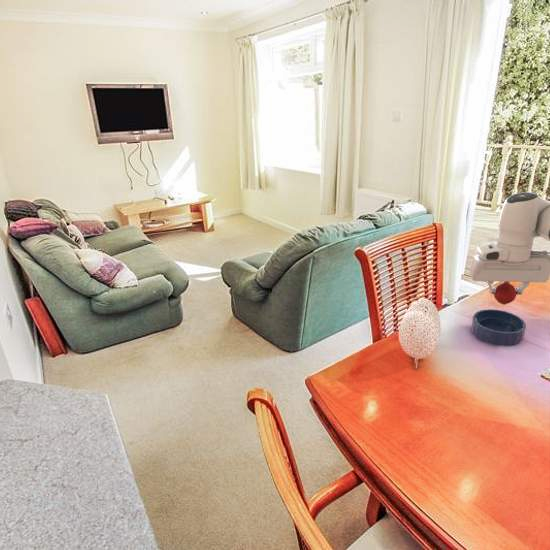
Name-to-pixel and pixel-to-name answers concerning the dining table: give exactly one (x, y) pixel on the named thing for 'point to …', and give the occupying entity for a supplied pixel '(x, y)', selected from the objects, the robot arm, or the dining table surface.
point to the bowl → (498, 327)
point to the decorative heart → (420, 329)
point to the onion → (505, 293)
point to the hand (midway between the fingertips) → (505, 293)
